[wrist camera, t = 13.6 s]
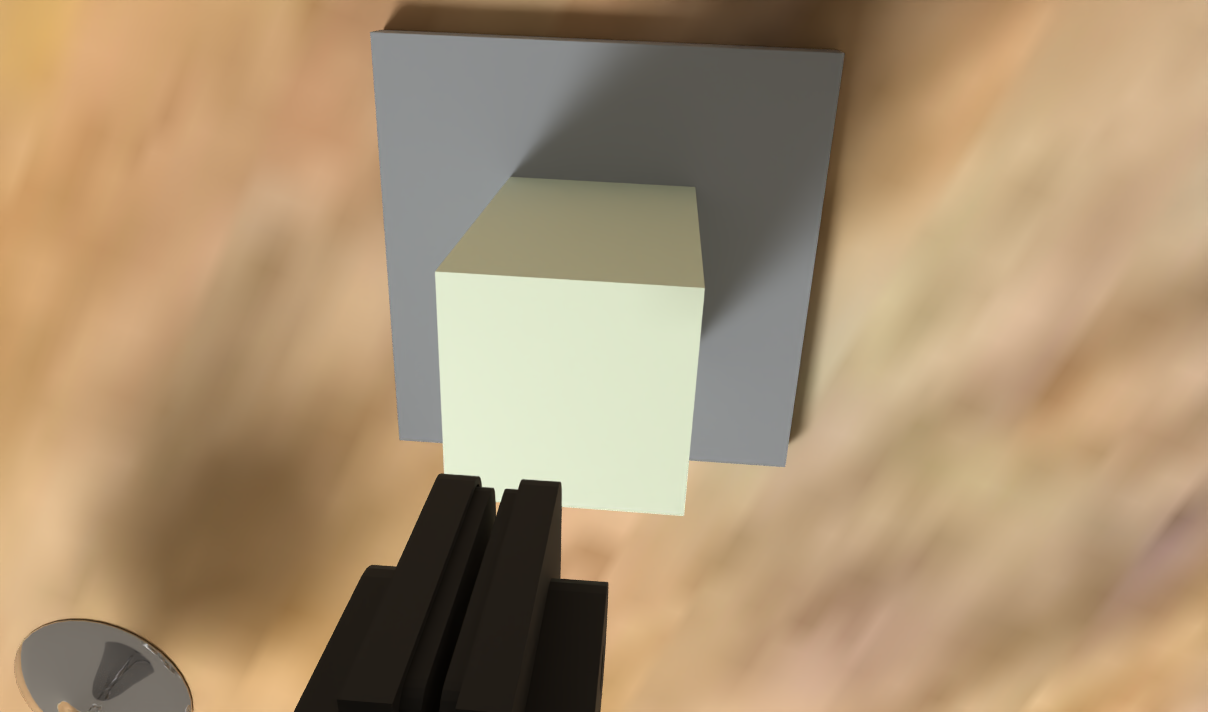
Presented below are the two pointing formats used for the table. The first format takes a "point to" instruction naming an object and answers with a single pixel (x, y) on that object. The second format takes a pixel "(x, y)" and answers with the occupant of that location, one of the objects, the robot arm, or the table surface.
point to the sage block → (574, 342)
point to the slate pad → (620, 155)
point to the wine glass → (96, 671)
